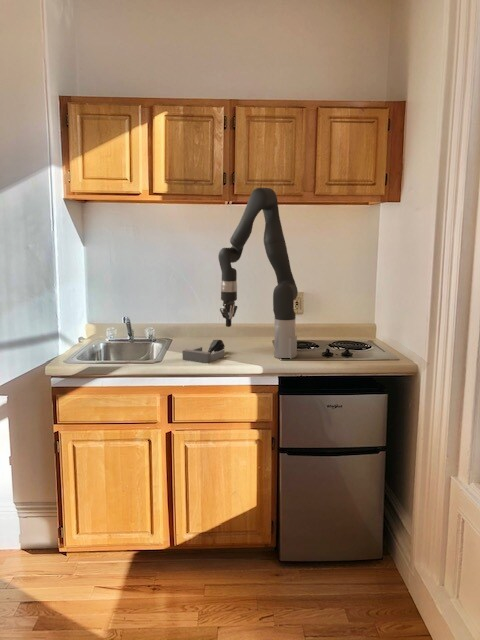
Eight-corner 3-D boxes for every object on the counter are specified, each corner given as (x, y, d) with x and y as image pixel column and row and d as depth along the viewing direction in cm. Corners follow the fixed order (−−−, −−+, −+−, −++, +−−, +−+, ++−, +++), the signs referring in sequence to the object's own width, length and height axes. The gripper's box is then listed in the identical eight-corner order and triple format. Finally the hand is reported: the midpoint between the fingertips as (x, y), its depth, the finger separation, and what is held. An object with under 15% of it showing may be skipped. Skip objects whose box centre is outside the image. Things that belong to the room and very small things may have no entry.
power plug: (200, 354, 229) (213, 335, 236) (206, 365, 233) (218, 346, 240) (211, 356, 226) (223, 337, 233) (216, 367, 230) (228, 348, 237)
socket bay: (224, 356, 228) (224, 347, 228) (207, 363, 216) (207, 354, 216) (200, 353, 235) (200, 344, 234) (182, 359, 223) (182, 350, 222)
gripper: (228, 292, 232) (228, 329, 235) (242, 289, 243) (242, 325, 246) (214, 291, 236) (214, 327, 238) (229, 288, 247) (228, 323, 250)
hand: (228, 326), depth 242 cm, fingers closed
